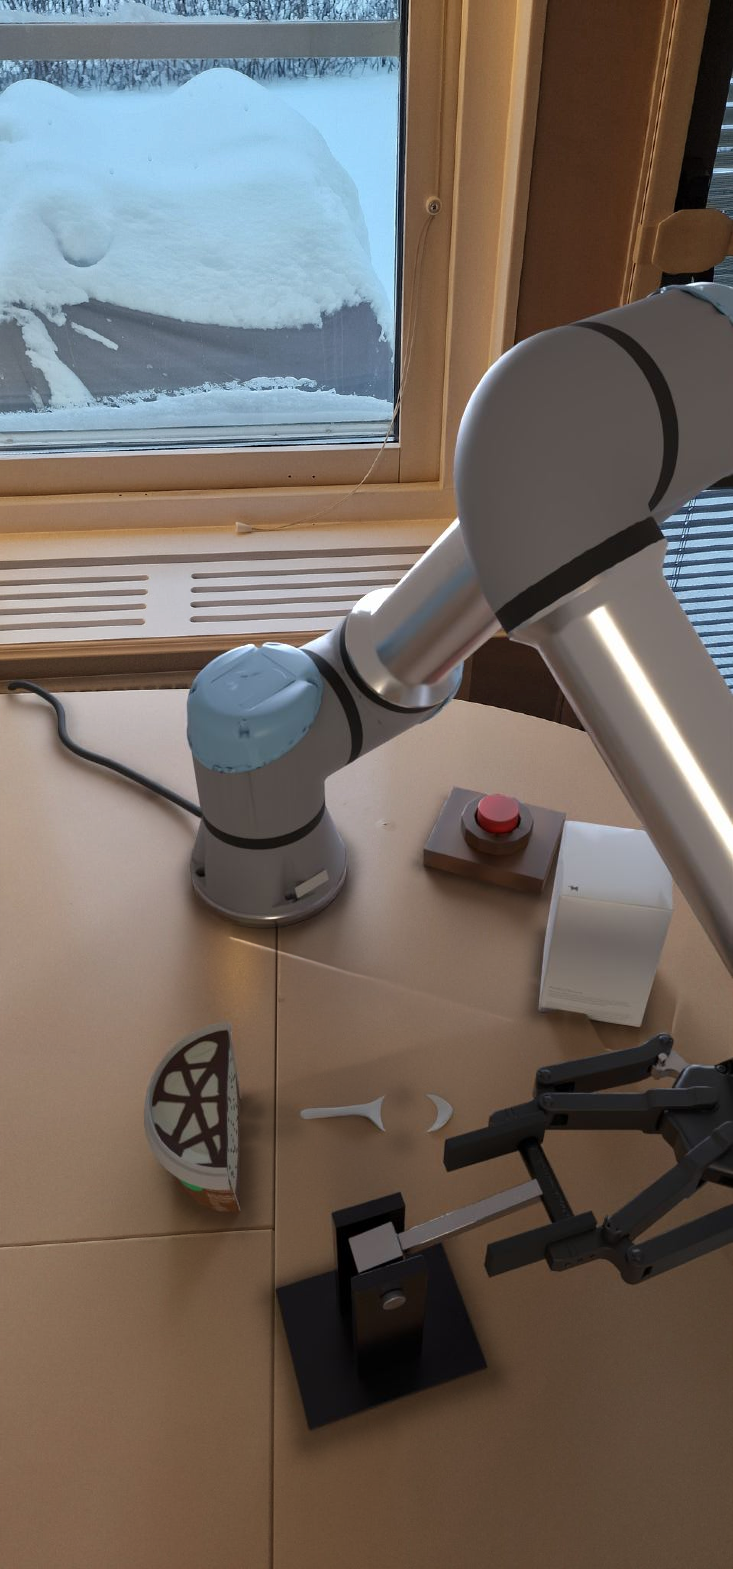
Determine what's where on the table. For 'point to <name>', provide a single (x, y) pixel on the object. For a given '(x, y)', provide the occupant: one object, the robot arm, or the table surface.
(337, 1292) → the bracket
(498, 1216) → the lever
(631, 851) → the rectangular carton
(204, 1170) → the food container
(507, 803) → the button
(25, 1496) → the table surface
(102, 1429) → the table surface
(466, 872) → the button block
